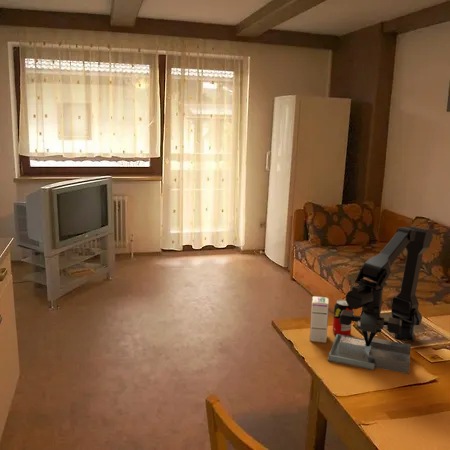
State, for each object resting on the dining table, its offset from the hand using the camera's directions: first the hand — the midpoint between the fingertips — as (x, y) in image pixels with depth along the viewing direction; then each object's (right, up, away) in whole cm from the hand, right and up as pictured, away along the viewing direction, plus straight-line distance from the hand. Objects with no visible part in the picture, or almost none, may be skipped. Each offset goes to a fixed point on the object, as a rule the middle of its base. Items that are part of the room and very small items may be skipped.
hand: (367, 345), depth 155 cm
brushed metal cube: (-4, -1, +2) cm, 5 cm away
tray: (-4, -3, +2) cm, 6 cm away
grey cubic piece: (-3, -3, +2) cm, 4 cm away
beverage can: (-5, 0, +16) cm, 17 cm away
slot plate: (+6, -4, -1) cm, 8 cm away
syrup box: (-14, -1, +13) cm, 19 cm away
